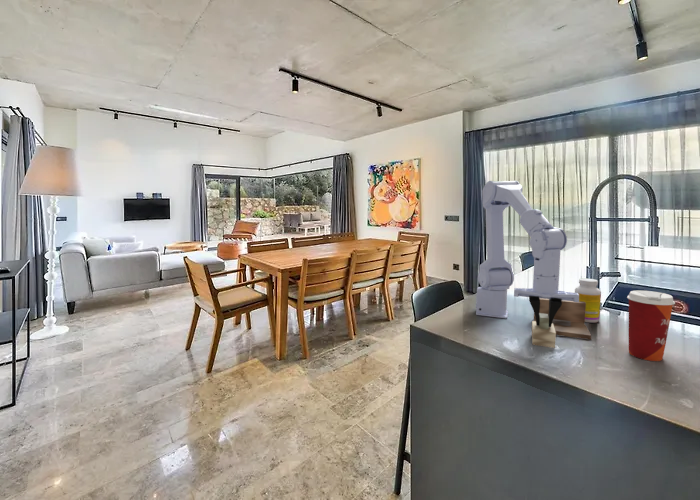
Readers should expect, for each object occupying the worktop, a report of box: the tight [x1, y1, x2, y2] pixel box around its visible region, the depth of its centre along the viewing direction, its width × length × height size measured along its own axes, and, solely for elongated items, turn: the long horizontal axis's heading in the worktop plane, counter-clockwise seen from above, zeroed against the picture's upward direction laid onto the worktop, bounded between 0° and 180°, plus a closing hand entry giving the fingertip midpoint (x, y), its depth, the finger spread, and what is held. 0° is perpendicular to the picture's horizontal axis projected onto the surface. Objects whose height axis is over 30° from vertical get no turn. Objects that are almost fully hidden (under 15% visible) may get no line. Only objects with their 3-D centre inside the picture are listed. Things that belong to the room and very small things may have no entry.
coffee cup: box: [626, 290, 676, 362], centre depth 76 cm, size 8×8×15 cm
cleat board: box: [533, 298, 592, 340], centre depth 94 cm, size 13×12×7 cm
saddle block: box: [531, 313, 557, 349], centre depth 86 cm, size 5×8×7 cm, turn 153°
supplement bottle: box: [574, 277, 602, 324], centre depth 101 cm, size 7×7×13 cm
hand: (543, 325), depth 86 cm, fingers closed on saddle block
